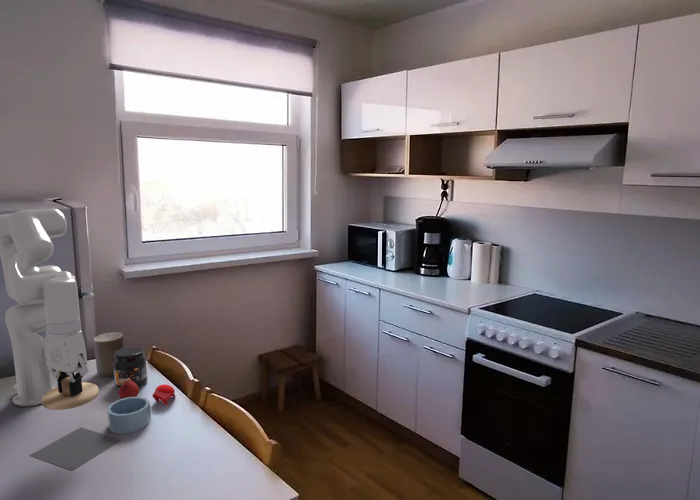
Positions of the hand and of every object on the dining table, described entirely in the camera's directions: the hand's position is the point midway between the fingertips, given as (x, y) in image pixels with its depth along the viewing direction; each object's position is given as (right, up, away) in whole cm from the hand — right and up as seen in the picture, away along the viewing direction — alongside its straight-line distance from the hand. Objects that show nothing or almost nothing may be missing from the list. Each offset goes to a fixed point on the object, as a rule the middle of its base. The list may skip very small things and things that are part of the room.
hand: (70, 391), depth 129 cm
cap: (+14, -12, +29) cm, 34 cm away
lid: (0, -1, 0) cm, 1 cm away
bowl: (+9, -14, +15) cm, 22 cm away
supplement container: (-2, -9, +41) cm, 43 cm away
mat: (0, -16, +3) cm, 16 cm away
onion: (+3, -12, +28) cm, 31 cm away
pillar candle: (-14, -8, +50) cm, 53 cm away
